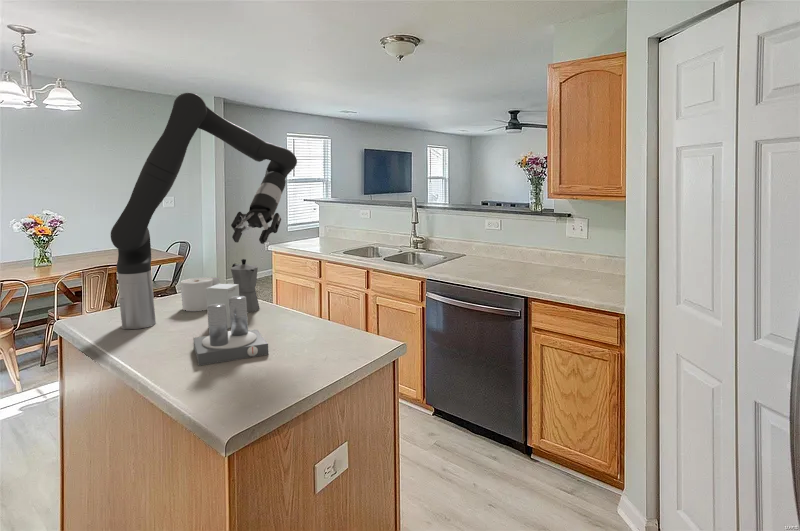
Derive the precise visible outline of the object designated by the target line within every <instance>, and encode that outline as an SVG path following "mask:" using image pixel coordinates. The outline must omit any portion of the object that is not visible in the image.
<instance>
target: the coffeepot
mask: <svg viewBox="0 0 800 531" xmlns="http://www.w3.org/2000/svg"><path fill="white" fill-rule="evenodd" d="M240 261H241V264H240V263H238V264H237V263H233V264H232V266H231V267H230V271H231V276H232V280H233V284H239V296H245V297H246V305H247V314H248V313H252V312H253V313H254V312H257V311H258V309H259V310H260V309H261V308H260V303H259V299H258V296H257V292H256V291H257V290H256V286H257V280H258V271H259V270H258V266H257V265H252V264H247V263H246V262H247V259H245V258H242V259H241V260H240Z"/></svg>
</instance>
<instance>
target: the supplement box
mask: <svg viewBox="0 0 800 531" xmlns="http://www.w3.org/2000/svg"><path fill="white" fill-rule="evenodd" d="M234 296H239V284H234V283H220V284H217V285H214V286H211V287H208V288H206V298H207V306H208V305H212V304H225V305H226V315H227V330H229V329H231V323H230V307H229V298H230V297H234ZM206 312H207V314H206V315H208V309H207V310H206ZM207 325H208V326H207V327H208V328H209V322H208V321H207Z"/></svg>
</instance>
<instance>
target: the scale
mask: <svg viewBox="0 0 800 531" xmlns="http://www.w3.org/2000/svg"><path fill="white" fill-rule="evenodd" d="M192 340H193V350H194V353H195V356H196V360H197V364H198V366H205V365H213V364H218V363H223V362H224V363H225V362H229V361H236V360H242V359H248V358H255V357H261V356H267V355H269V343H268V341H267V340H266V339H265V337H264V336H263V335H262V333H261V332H260V330H259V329H258V328H255V329H248V334H246V335H242V336H233V335H231V330H228V344H226V345H223V346H211V345H210V336H209V335H204V336H198V337H193V338H192Z"/></svg>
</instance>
